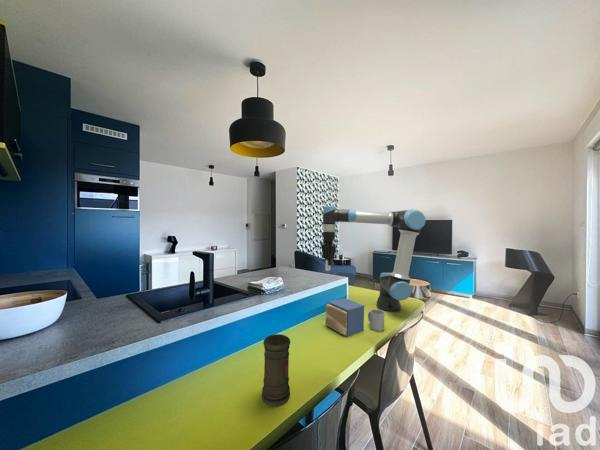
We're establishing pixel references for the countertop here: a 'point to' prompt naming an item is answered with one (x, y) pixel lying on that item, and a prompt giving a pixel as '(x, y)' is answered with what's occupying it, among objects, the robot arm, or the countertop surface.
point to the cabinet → (351, 314)
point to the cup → (376, 320)
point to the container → (276, 370)
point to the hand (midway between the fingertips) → (327, 270)
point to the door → (336, 319)
